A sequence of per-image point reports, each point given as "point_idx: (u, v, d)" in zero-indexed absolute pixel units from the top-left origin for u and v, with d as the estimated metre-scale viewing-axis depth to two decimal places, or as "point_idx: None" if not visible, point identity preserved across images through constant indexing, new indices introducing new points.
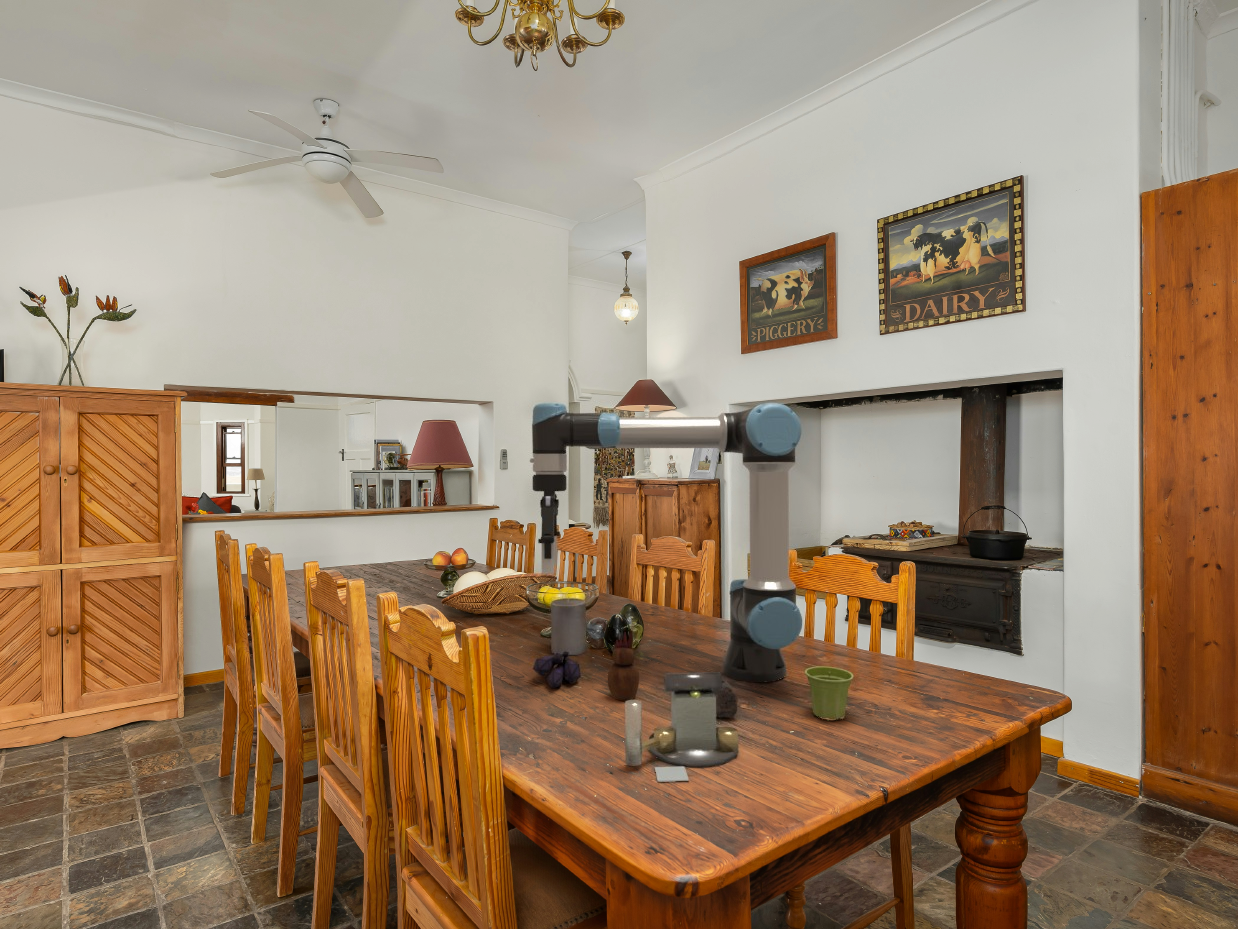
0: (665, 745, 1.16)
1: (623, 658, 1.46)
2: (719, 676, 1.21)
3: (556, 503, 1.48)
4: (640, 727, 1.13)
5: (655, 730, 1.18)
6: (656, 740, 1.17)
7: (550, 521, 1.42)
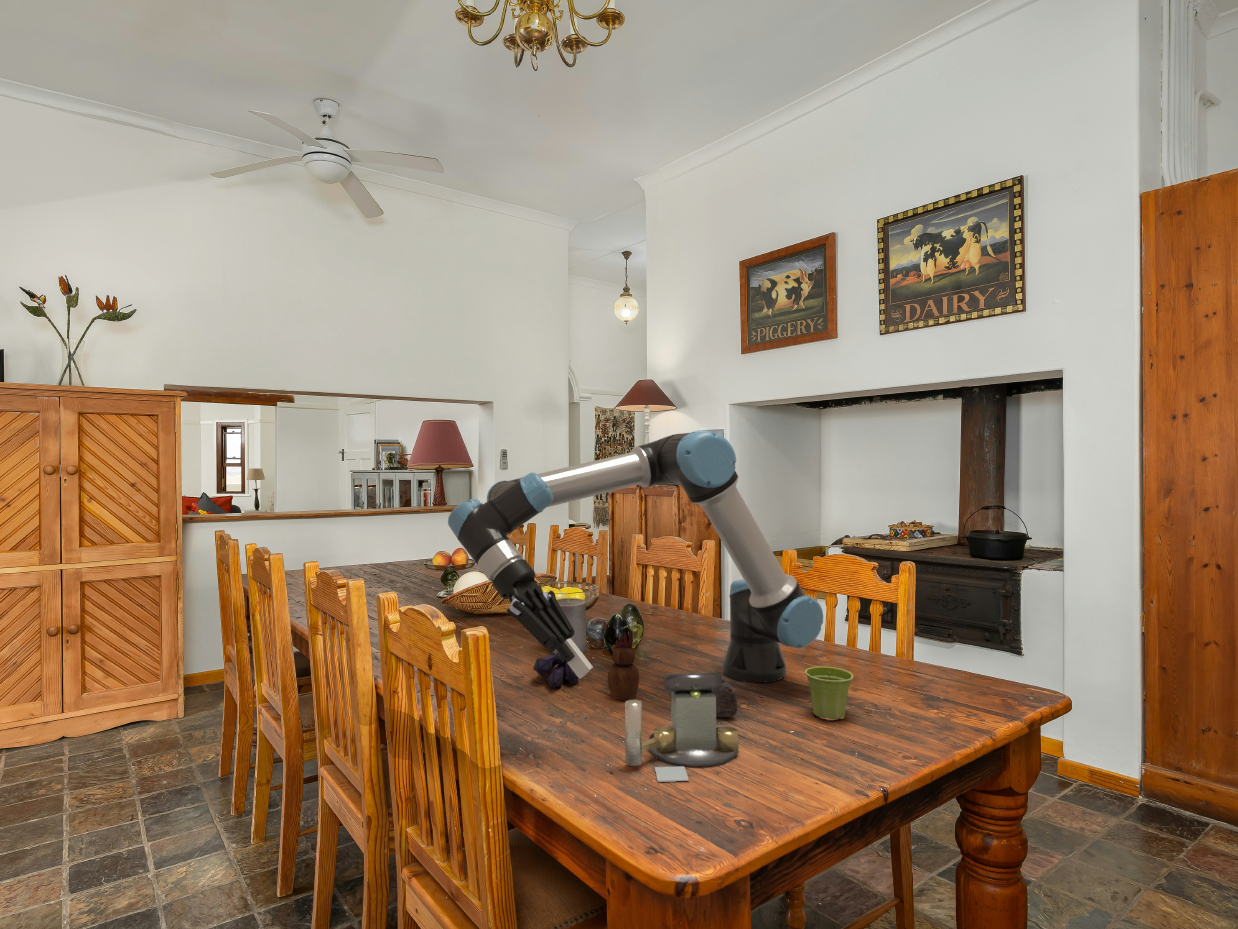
0: (665, 745, 1.16)
1: (623, 658, 1.46)
2: (719, 676, 1.21)
3: (529, 596, 1.21)
4: (640, 727, 1.13)
5: (655, 730, 1.18)
6: (656, 740, 1.17)
7: (537, 626, 1.17)
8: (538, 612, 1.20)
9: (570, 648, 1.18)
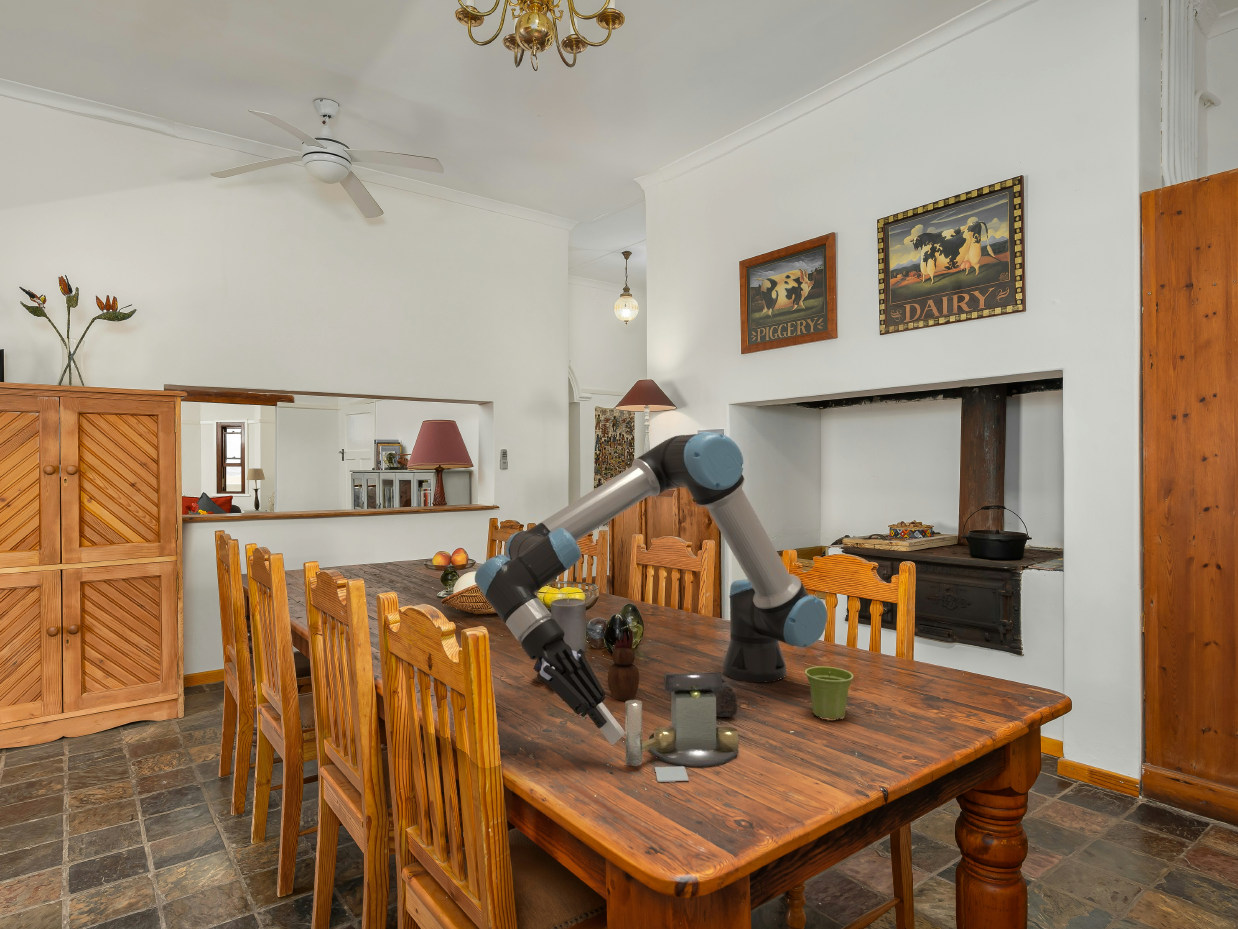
0: (665, 745, 1.16)
1: (623, 658, 1.46)
2: (719, 676, 1.21)
3: (560, 658, 1.18)
4: (640, 727, 1.13)
5: (655, 730, 1.18)
6: (656, 740, 1.17)
7: (568, 691, 1.14)
8: (569, 675, 1.17)
9: (602, 713, 1.15)
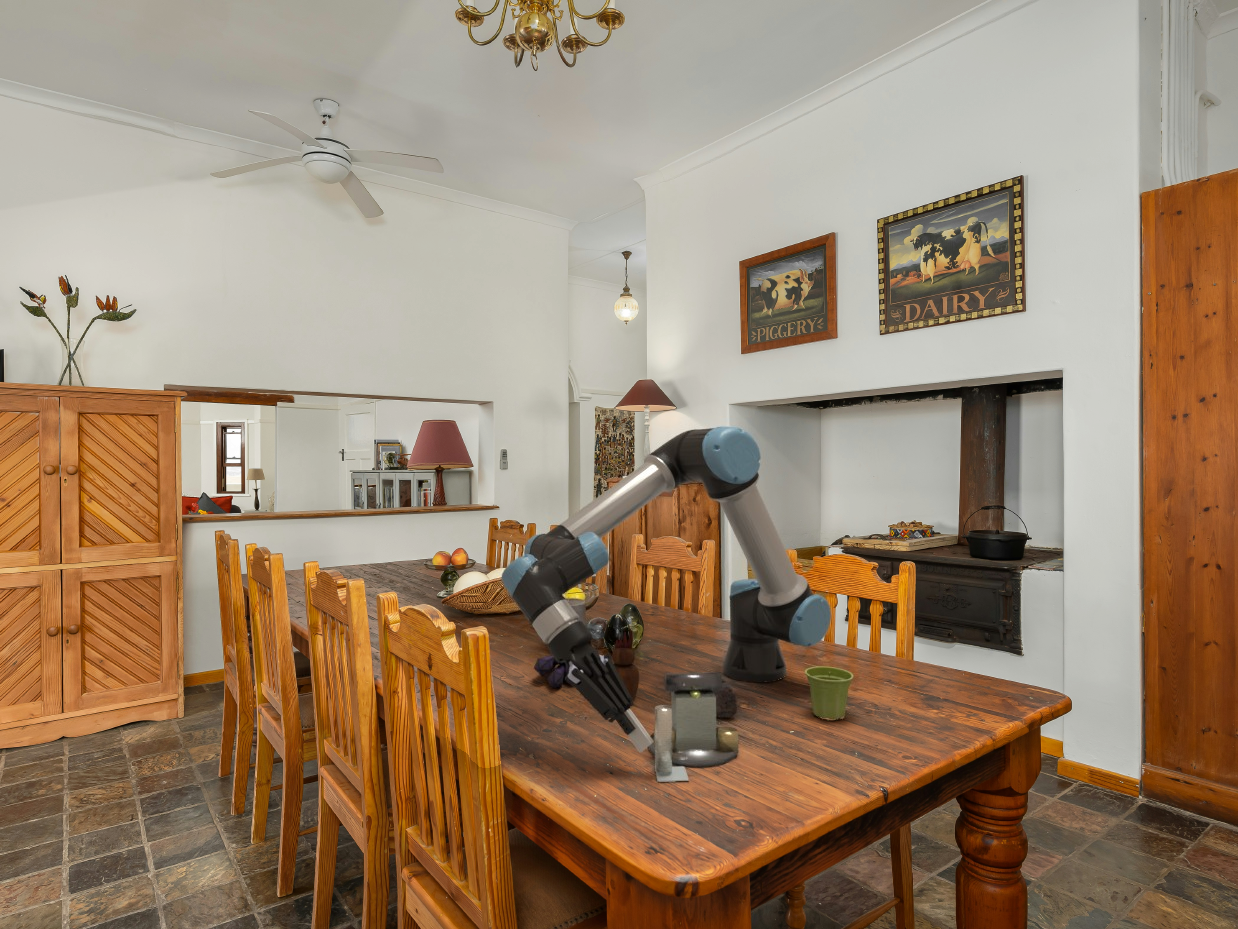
0: (672, 744, 1.17)
1: (623, 658, 1.46)
2: (719, 676, 1.21)
3: (588, 662, 1.15)
4: None
5: None
6: None
7: (596, 696, 1.11)
8: (597, 680, 1.14)
9: (631, 720, 1.12)
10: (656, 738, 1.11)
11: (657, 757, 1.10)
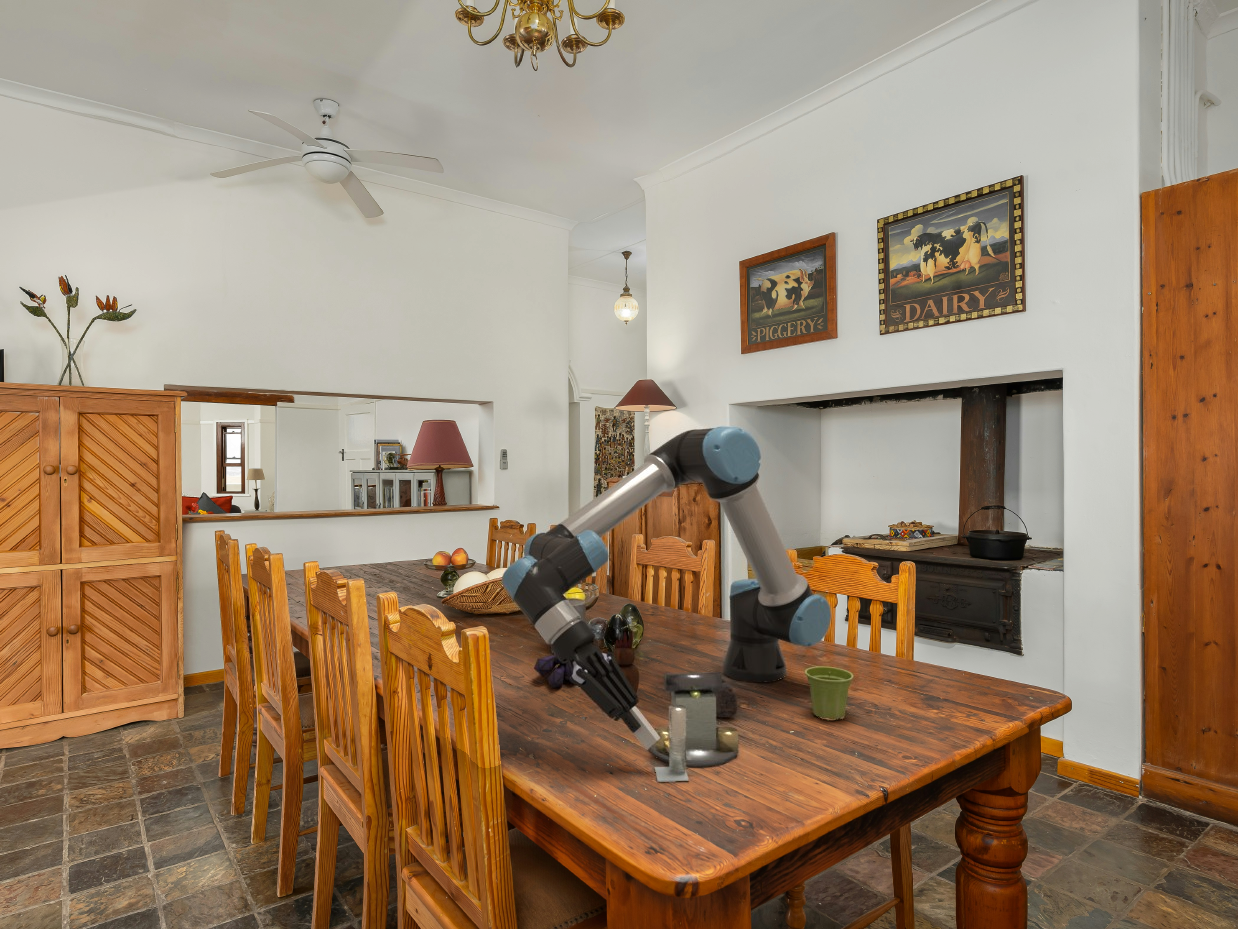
0: None
1: (623, 658, 1.46)
2: (719, 676, 1.21)
3: (592, 661, 1.15)
4: None
5: (660, 733, 1.17)
6: None
7: (601, 695, 1.11)
8: (601, 679, 1.14)
9: (636, 717, 1.13)
10: (672, 738, 1.10)
11: (673, 757, 1.10)
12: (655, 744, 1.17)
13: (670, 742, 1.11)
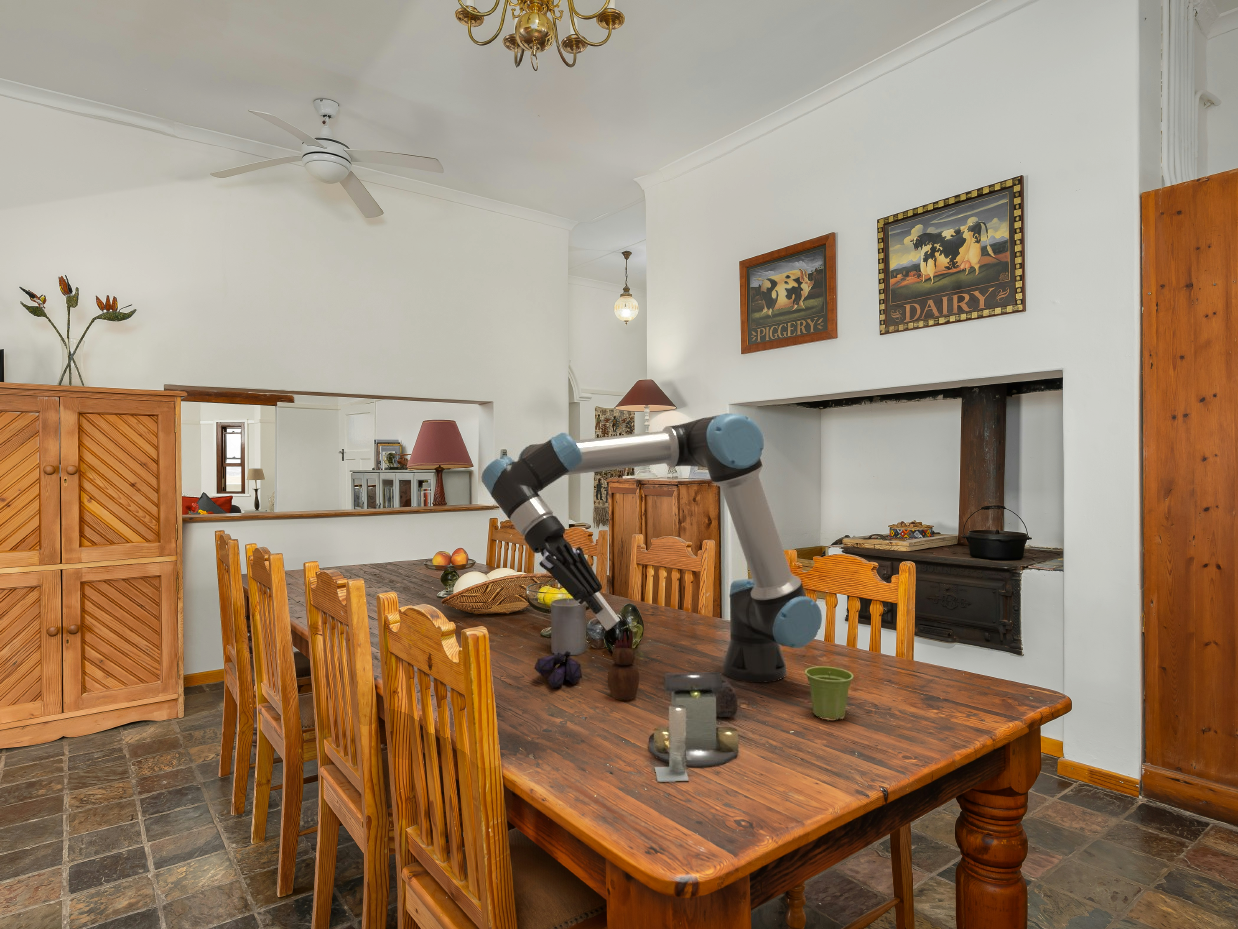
0: None
1: (623, 658, 1.46)
2: (719, 676, 1.21)
3: (560, 551, 1.26)
4: None
5: (660, 733, 1.17)
6: None
7: (568, 579, 1.22)
8: (568, 566, 1.25)
9: (598, 601, 1.24)
10: (672, 738, 1.10)
11: (673, 757, 1.10)
12: (655, 744, 1.17)
13: (670, 742, 1.11)
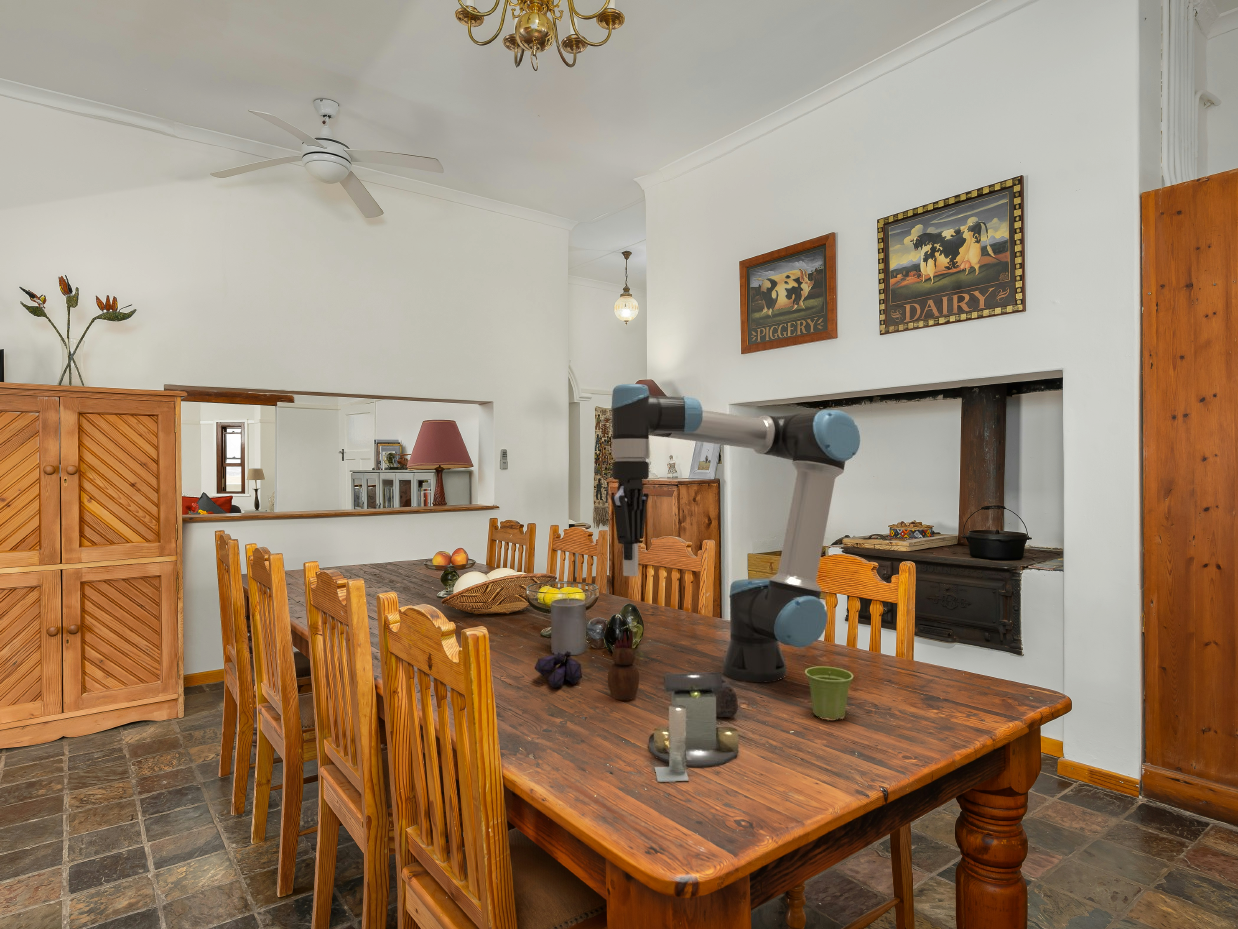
0: None
1: (623, 658, 1.46)
2: (719, 676, 1.21)
3: (633, 495, 1.36)
4: None
5: (660, 733, 1.17)
6: None
7: (623, 523, 1.34)
8: (630, 511, 1.36)
9: (633, 552, 1.37)
10: (672, 738, 1.10)
11: (673, 757, 1.10)
12: (655, 744, 1.17)
13: (670, 742, 1.11)
